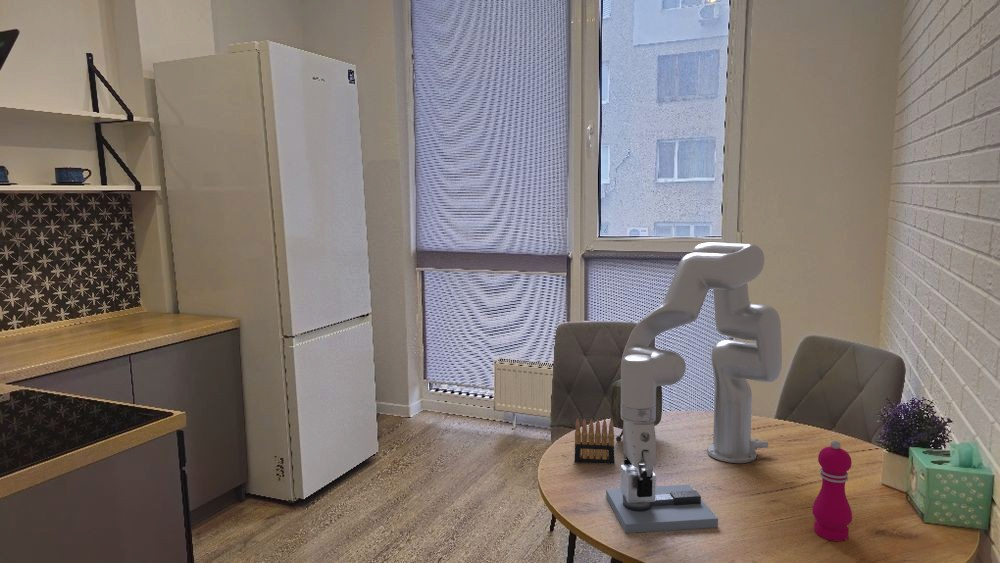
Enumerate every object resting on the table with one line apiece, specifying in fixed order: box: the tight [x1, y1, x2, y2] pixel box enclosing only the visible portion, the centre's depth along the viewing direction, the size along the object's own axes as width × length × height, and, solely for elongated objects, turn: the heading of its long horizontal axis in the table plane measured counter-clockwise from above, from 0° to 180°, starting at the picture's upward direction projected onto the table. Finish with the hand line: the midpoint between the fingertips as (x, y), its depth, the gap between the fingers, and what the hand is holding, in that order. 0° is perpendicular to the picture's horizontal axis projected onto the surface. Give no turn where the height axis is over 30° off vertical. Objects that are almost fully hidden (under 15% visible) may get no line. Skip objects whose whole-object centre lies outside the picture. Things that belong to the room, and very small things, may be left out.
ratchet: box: [623, 489, 702, 512], centre depth 137 cm, size 17×6×6 cm, turn 95°
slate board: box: [605, 484, 719, 534], centre depth 137 cm, size 20×16×2 cm
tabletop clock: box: [609, 378, 663, 443], centre depth 178 cm, size 14×9×25 cm, turn 135°
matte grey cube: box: [620, 463, 657, 503], centre depth 136 cm, size 6×6×6 cm
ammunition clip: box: [573, 417, 616, 465], centre depth 164 cm, size 11×2×12 cm, turn 81°
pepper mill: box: [811, 439, 853, 542], centre depth 126 cm, size 7×7×20 cm
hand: (637, 486), depth 136 cm, fingers open, 9 cm apart
